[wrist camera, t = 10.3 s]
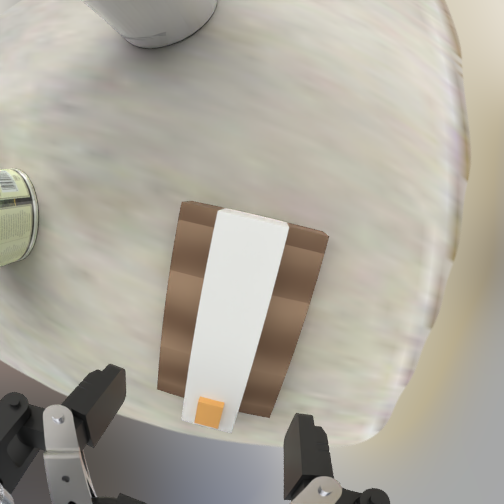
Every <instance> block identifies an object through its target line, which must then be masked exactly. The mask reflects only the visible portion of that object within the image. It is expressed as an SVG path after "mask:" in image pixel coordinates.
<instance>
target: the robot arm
mask: <svg viewBox="0 0 504 504" xmlns="http://www.w3.org/2000/svg"><path fill="white" fill-rule="evenodd" d="M82 1H83V2H84V3H85V4H86V5H87V6H89V7H90V8H91V9H92V10H93V11H94V12H96V13H97V14H98V15H99V16H100V17H101V18H102V19H104V20H105V21H106V22H107V23H108V24H109V25H110V26H111V27H113V28H114V29H115V30H116V31H117V32H118V33H119V34H120V35H121V36H122V37H124V38H125V39H126V40H127V41H128V42H130V43H131V44H133V45H135V46H138V47H142V48H156V47H163V46H166V45H170V44H173V43H176V42H178V41H181V40H183V39H185V38H186V37H188V36H190V35H192V34H193V33H194V32H196V31H197V30H198V29H200V28H201V27H202V26H203V25H204V24H205V23H206V22H207V21H208V20H209V19H210V17H211V16H212V14H213V13H214V10H215V8H216V5H217V0H82ZM125 396H126V377H125V369H123V368H120V367H118V366H115V365H112V364H109V365H107V367H106V368H105V369H104V370H103V371H100V370H96V371H93V372H91V373H89V374H88V375H87V376H86V377H85V378H84V380H83V381H82V382H81V383H80V384H79V386H77V387H76V388H75V390H74V391H73V392H72V393H71V394H70V395H69V396H68V397H67V399H66V400H65V401H64V402H63V403H62V404H61V405H51V406H49V407H47V408H46V409H44V408H40V407H37V406H33V405H30V404H29V403H28V400H27V398H26V397H25V396H24V395H23V394H20V393H17V392H12V393H9V394H7V395H5V396H4V397H3V398H2V399H1V400H0V504H14V501H13V498H12V496H11V493H12V492H13V490H14V489H15V487H16V485H17V484H18V482H19V481H20V479H21V478H22V476H23V474H24V473H25V471H26V470H27V468H28V467H29V465H30V464H31V462H32V461H33V459H34V457H35V456H36V455H37V453H38V452H39V450H40V449H42V450H45V451H46V452H44V463H45V470H46V476H47V481H48V486H49V492H50V496H51V501H52V504H146V503H145V502H141V501H139V500H136V499H134V498H131V497H129V496H126V495H123V494H121V493H120V494H119V496H118V498H116V497H97V496H96V493H95V490H94V487H93V485H92V482H91V478H90V475H89V471H88V468H87V464H86V460H85V456H84V451H83V449H84V447H85V446H86V444H87V445H89V446H91V447H93V448H94V447H95V446H96V444H97V442H98V441H99V439H100V438H101V436H102V435H103V433H104V432H105V430H106V428H107V427H108V425H109V424H110V422H111V421H112V419H113V418H114V416H115V415H116V413H117V412H118V410H119V408H120V407H121V405H122V404H123V402H124V400H125ZM284 500H291V503H290V504H390V501H389V497H388V496H387V494H386V493H385V492H384V491H382V490H380V489H375V488H372V489H368V490H366V491H364V492H363V493H358V492H354V491H350V490H346V489H344V488H342V487H341V485H340V483H339V482H338V481H337V480H335V479H334V476H333V471H332V464H331V458H330V453H329V445H328V439H327V435H326V433H325V432H324V430H323V429H322V427H319V426H314V420H313V416H312V415H307V414H299V413H296V414H295V416H294V418H293V420H292V422H291V424H290V426H289V429H288V431H287V433H286V435H285V439H284Z"/></svg>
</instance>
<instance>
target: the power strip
mask: <svg viewBox="0 0 504 504" xmlns="http://www.w3.org/2000/svg"><path fill="white" fill-rule="evenodd" d="M288 230H289V226H288V224H287V222H284V221H280V220H276V219H272V218H267V217H263V216H259V215H255V214H251V213H246V212H242V211H238V210H233V209H229V208H225V209H222V210H218V212H217V217H216V221H215V226H214V231H213V236H212V241H211V246H210V251H209V256H208V261H207V266H206V271H205V276H204V281H203V287H202V292H201V298H200V303H199V309H198V314H197V320H196V326H195V332H194V338H193V344H192V350H191V356H190V363H189V369H188V376H187V382H186V389H185V396H184V403H183V411H182V418H181V420H183V421H186V422H189V423H193V424H196V425H200V426H204V427H208V428H212V429H216V430H220V431H224V432H228V433H232V430H233V427H234V424H235V420H236V417H237V414H238V411H239V407H240V404H241V401H242V398H243V394H244V391H245V388H246V384H247V381H248V377H249V374H250V371H251V367H252V364H253V360H254V357H255V353H256V350H257V346H258V343H259V339H260V336H261V332H262V329H263V325H264V321H265V318H266V314H267V311H268V307H269V303H270V300H271V296H272V292H273V288H274V285H275V281H276V277H277V273H278V269H279V266H280V262H281V258H282V254H283V250H284V246H285V242H286V238H287V234H288Z"/></svg>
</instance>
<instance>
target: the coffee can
mask: <svg viewBox="0 0 504 504" xmlns="http://www.w3.org/2000/svg"><path fill="white" fill-rule="evenodd" d="M37 229H38V204H37V199H36V194H35V191H34V187H33V185H32V184H31V182H30V180H29V178H28V177H27V175H26V174H25V173H24V172H22V171H21V170H19V169H0V267H1V266H4V265H7V264H9V263H12V262H16V261H20V260H22V259H24V258H25V257H27V256H28V255H29V253H30V251H31V250H32V248H33V246H34V243H35V240H36V235H37Z"/></svg>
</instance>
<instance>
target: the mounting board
mask: <svg viewBox="0 0 504 504" xmlns="http://www.w3.org/2000/svg"><path fill="white" fill-rule="evenodd" d="M222 209H225V208H222V207H218V206H213V205H208V204H204V203H199V202H194V201H187V202H182V203H181V208H180V213H179V219H178V224H177V230H176V235H175V241H174V247H173V253H172V260H171V266H170V273H169V280H168V287H167V294H166V302H165V310H164V318H163V327H162V337H161V347H160V358H159V371H158V385H157V389H158V390H161V391H164V392H167V393H170V394H173V395H177V396H180V397H183V398H184V396H185V389H186V382H187V376H188V369H189V363H190V356H191V350H192V344H193V338H194V332H195V326H196V320H197V314H198V309H199V303H200V298H201V292H202V287H203V281H204V276H205V271H206V266H207V261H208V256H209V251H210V246H211V241H212V236H213V231H214V226H215V221H216V217H217V212H218V210H222ZM287 224H288V226H289V230H288V234H287V238H286V242H285V246H284V250H283V254H282V258H281V262H280V266H279V269H278V273H277V277H276V281H275V285H274V288H273V292H272V296H271V300H270V303H269V307H268V311H267V314H266V318H265V321H264V325H263V329H262V332H261V336H260V339H259V343H258V346H257V350H256V353H255V357H254V360H253V364H252V367H251V371H250V374H249V377H248V381H247V384H246V388H245V391H244V394H243V398H242V401H241V404H240V407H239V411H238V412H242V413H247V414H252V415H257V416H262V417H268V418H270V415H271V413H272V410H273V407H274V405H275V402H276V400H277V397H278V394H279V392H280V389H281V386H282V384H283V381H284V378H285V376H286V373H287V370H288V367H289V364H290V362H291V359H292V356H293V353H294V350H295V347H296V344H297V341H298V338H299V335H300V332H301V329H302V326H303V323H304V320H305V317H306V314H307V311H308V308H309V304H310V301H311V298H312V295H313V291H314V288H315V285H316V281H317V278H318V274H319V271H320V267H321V264H322V260H323V257H324V253H325V250H326V246H327V242H328V238H329V236H328V235H326V234H325V233H324V232H323V231H319V230H315V229H311V228H307V227H303V226H299V225H295V224H291V223H287Z"/></svg>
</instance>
